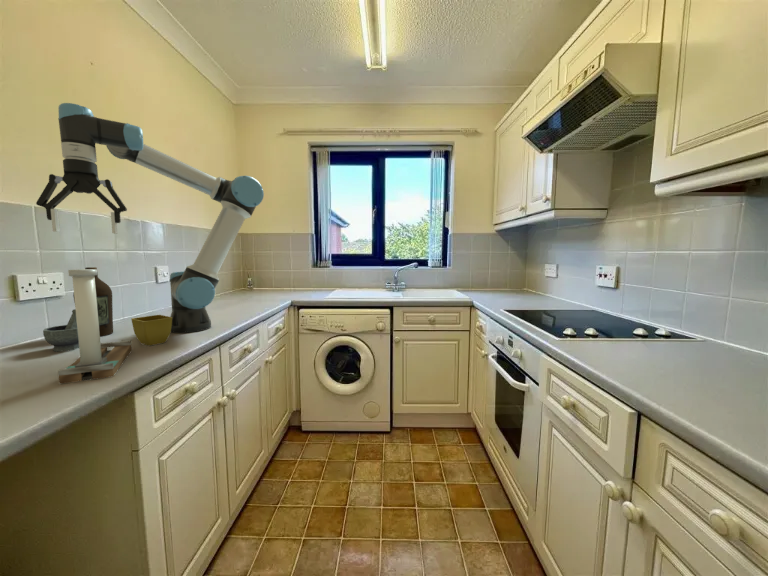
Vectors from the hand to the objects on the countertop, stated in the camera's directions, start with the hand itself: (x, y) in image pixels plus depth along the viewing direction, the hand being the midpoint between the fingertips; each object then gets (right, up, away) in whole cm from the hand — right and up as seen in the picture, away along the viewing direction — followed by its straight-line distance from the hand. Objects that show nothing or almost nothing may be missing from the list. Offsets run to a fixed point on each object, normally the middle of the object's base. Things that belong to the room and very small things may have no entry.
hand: (86, 232), depth 99 cm
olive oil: (-16, -35, +21) cm, 43 cm away
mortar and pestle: (-10, -37, +5) cm, 38 cm away
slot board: (+13, -38, -10) cm, 42 cm away
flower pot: (+13, -36, +11) cm, 40 cm away
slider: (+17, -37, -17) cm, 44 cm away
